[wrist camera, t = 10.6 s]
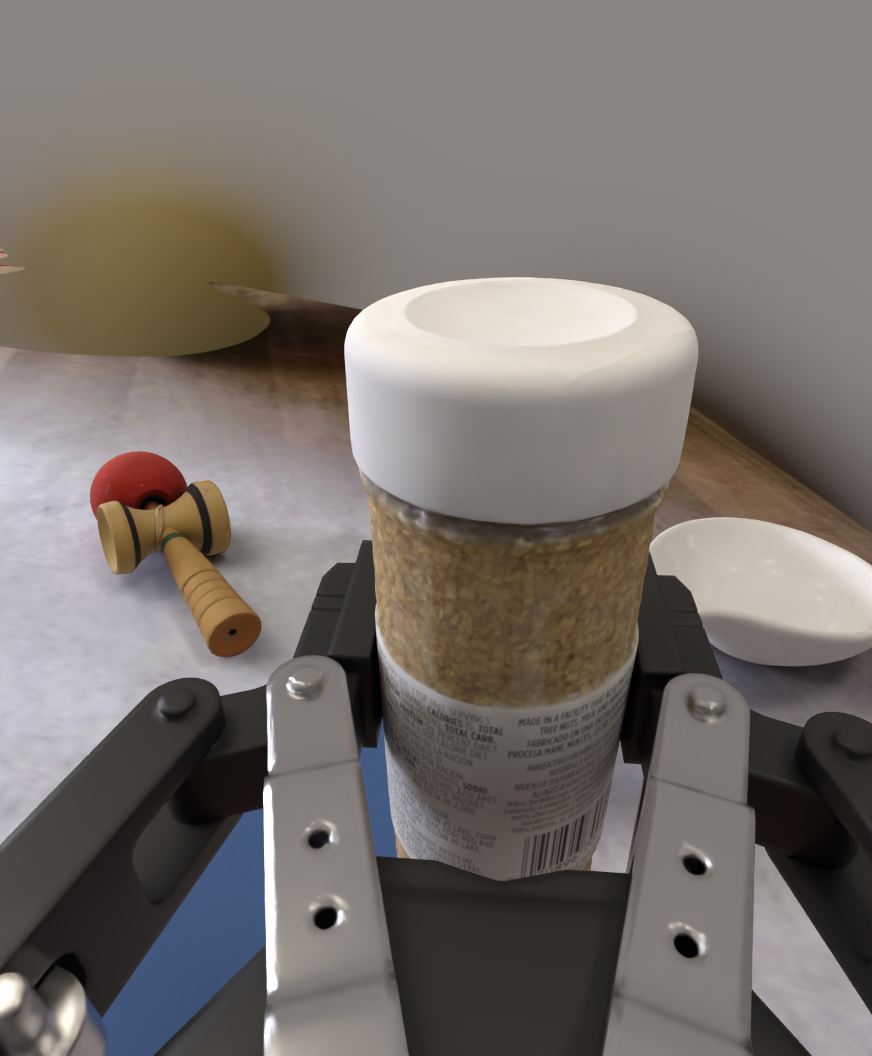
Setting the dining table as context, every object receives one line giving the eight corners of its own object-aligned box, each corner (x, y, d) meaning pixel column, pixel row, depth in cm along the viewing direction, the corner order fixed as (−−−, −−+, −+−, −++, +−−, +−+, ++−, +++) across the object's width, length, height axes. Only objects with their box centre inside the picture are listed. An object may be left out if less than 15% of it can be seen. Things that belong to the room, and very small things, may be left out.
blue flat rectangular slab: (-60, 1716, 13) (-74, 1719, 13) (-255, 1251, 19) (-269, 1245, 18) (534, 798, 30) (534, 789, 29) (339, 692, 35) (338, 684, 35)
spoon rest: (725, 543, 45) (752, 442, 41) (919, 639, 37) (974, 526, 33) (434, 708, 33) (434, 588, 29) (628, 903, 25) (663, 773, 21)
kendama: (317, 634, 40) (194, 480, 51) (291, 562, 36) (162, 410, 47) (194, 711, 38) (91, 531, 48) (150, 644, 33) (47, 462, 44)
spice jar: (528, 782, 19) (576, 256, 11) (630, 945, 15) (794, 333, 8) (366, 843, 17) (302, 287, 10) (436, 1040, 14) (418, 397, 6)
